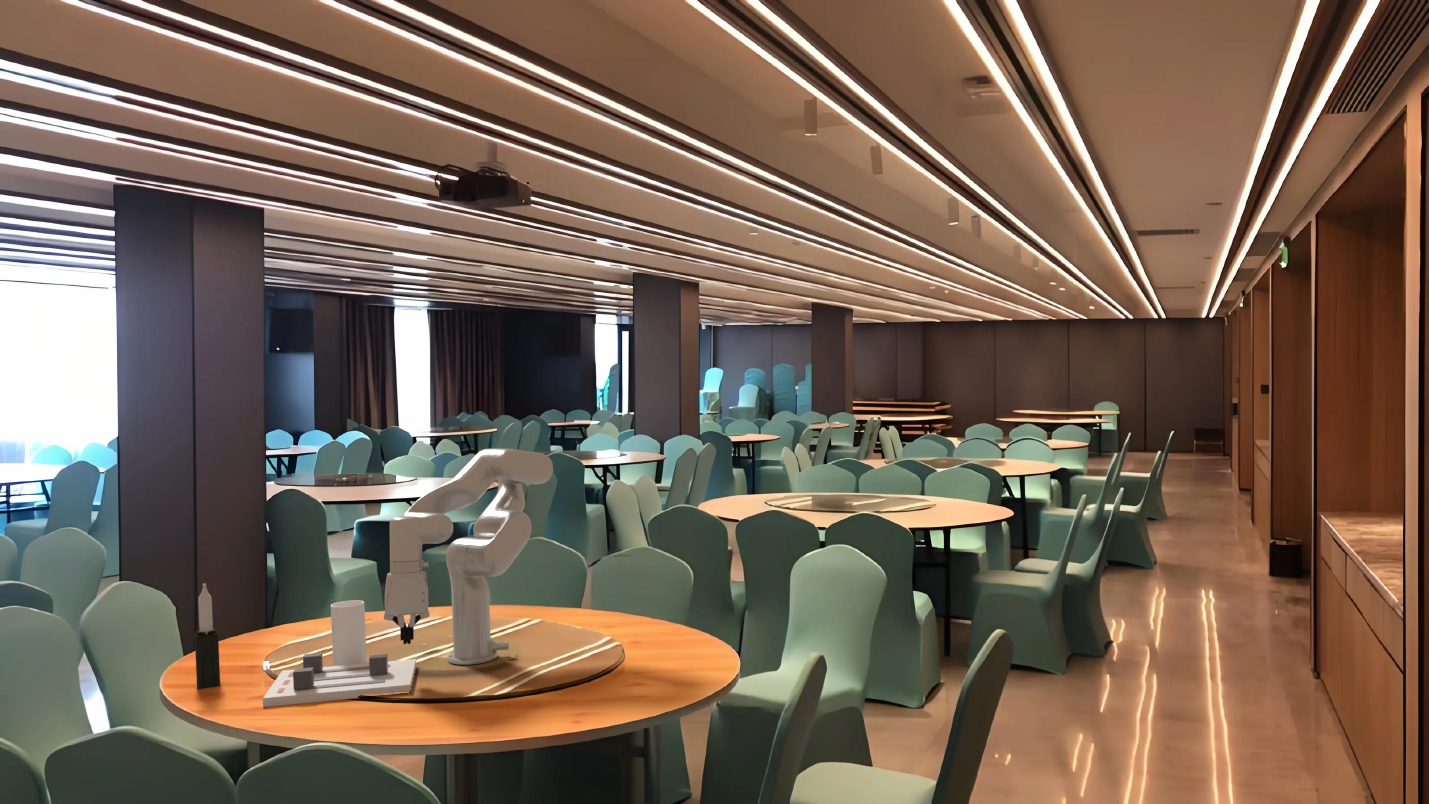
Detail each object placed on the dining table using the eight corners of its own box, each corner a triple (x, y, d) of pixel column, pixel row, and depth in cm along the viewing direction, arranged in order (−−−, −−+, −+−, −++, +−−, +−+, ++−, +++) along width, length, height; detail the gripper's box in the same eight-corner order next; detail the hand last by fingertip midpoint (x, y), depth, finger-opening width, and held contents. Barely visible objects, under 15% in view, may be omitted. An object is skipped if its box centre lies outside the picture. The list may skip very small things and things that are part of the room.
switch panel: (416, 666, 267) (415, 641, 267) (410, 693, 244) (409, 665, 243) (282, 678, 260) (281, 652, 260) (263, 706, 237) (262, 678, 236)
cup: (355, 669, 266) (353, 606, 266) (326, 668, 268) (324, 606, 268) (372, 661, 274) (370, 600, 274) (344, 660, 276) (341, 599, 276)
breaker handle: (388, 670, 255) (387, 653, 255) (387, 673, 252) (386, 656, 252) (370, 671, 255) (370, 655, 254) (369, 675, 252) (369, 658, 252)
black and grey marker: (197, 689, 253) (192, 586, 252) (196, 684, 257) (192, 582, 257) (220, 685, 255) (216, 583, 255) (219, 681, 260) (215, 580, 259)
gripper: (438, 563, 260) (439, 638, 260) (375, 566, 257) (376, 641, 256) (437, 568, 252) (438, 644, 252) (372, 571, 249) (373, 648, 249)
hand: (407, 642), depth 254 cm, fingers closed
